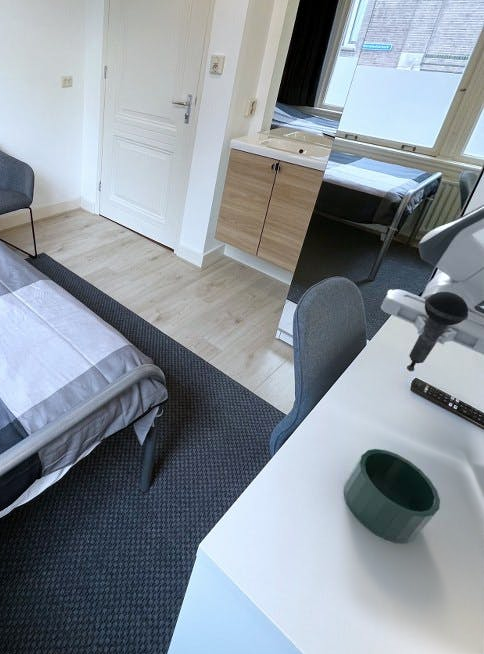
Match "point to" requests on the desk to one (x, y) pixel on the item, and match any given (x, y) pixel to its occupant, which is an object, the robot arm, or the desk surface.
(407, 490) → the tin
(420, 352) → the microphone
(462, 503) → the desk surface
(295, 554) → the desk surface
